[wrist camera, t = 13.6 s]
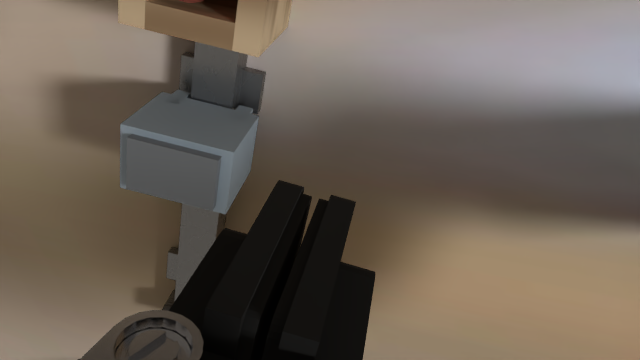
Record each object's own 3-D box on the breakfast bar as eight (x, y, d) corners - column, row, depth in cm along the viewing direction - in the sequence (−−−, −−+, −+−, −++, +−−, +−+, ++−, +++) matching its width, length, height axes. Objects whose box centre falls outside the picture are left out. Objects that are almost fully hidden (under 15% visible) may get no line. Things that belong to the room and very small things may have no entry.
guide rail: (187, 24, 36) (169, 34, 33) (270, 44, 35) (258, 56, 33) (167, 303, 49) (153, 327, 46) (227, 319, 49) (216, 344, 46)
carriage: (167, 87, 36) (115, 128, 30) (262, 110, 36) (231, 156, 29) (164, 142, 38) (115, 192, 32) (253, 165, 38) (222, 219, 32)
